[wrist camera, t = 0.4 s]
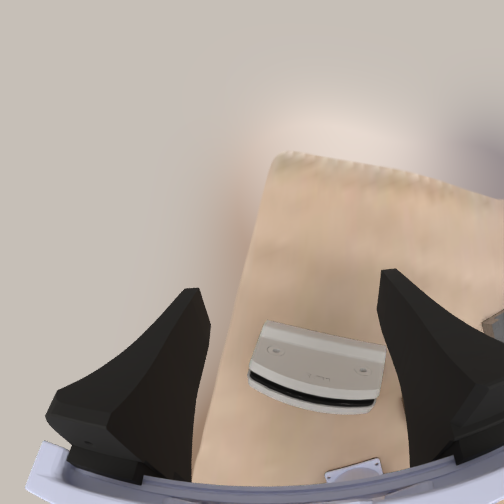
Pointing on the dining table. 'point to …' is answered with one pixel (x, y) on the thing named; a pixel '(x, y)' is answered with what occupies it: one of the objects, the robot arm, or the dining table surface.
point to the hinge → (316, 369)
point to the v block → (495, 326)
